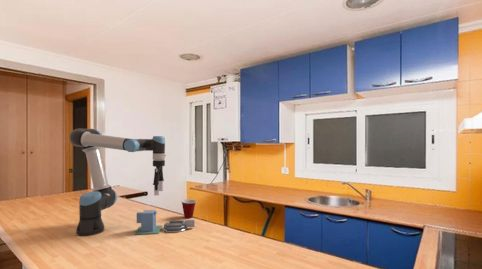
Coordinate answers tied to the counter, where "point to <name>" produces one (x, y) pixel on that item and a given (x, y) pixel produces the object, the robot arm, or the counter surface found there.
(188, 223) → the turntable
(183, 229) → the turntable base
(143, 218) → the blue block
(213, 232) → the counter surface
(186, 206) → the plastic cup
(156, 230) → the plate
